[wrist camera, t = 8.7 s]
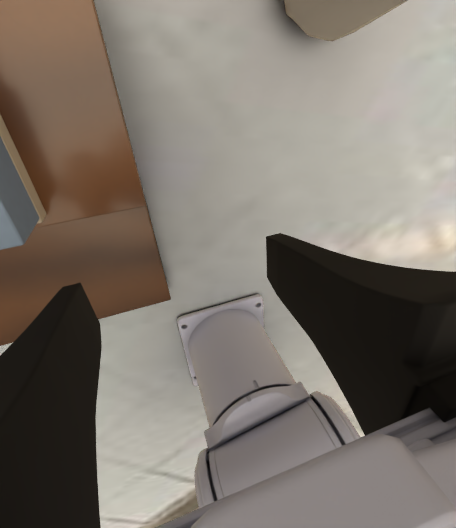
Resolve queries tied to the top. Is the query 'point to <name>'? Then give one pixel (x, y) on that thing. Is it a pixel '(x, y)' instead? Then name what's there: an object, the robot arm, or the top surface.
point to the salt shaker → (336, 15)
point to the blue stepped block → (16, 196)
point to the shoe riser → (71, 168)
